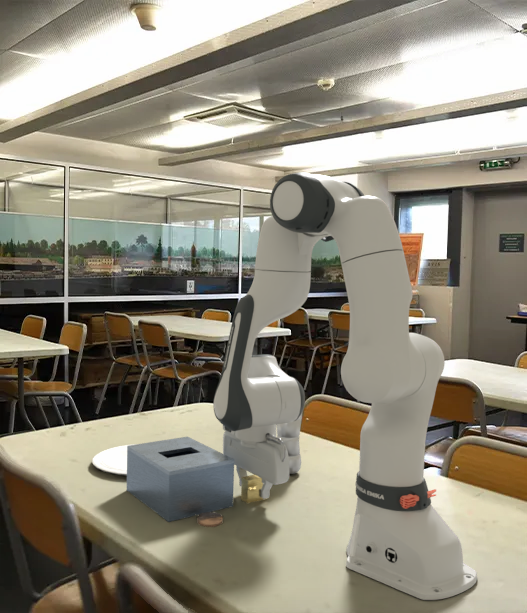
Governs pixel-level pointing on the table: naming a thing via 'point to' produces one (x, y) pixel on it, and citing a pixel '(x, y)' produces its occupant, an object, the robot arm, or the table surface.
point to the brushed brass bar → (251, 488)
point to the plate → (112, 460)
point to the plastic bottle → (291, 442)
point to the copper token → (209, 519)
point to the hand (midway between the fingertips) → (254, 492)
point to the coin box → (180, 477)
